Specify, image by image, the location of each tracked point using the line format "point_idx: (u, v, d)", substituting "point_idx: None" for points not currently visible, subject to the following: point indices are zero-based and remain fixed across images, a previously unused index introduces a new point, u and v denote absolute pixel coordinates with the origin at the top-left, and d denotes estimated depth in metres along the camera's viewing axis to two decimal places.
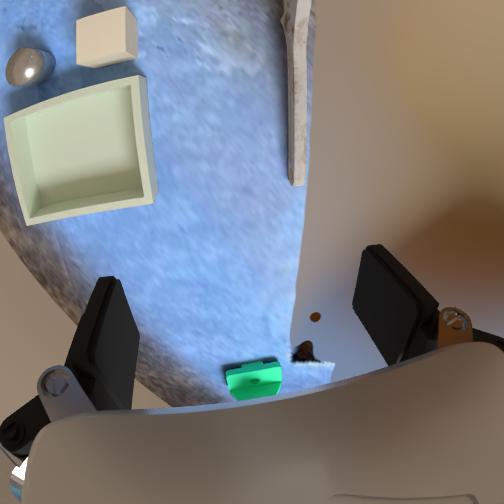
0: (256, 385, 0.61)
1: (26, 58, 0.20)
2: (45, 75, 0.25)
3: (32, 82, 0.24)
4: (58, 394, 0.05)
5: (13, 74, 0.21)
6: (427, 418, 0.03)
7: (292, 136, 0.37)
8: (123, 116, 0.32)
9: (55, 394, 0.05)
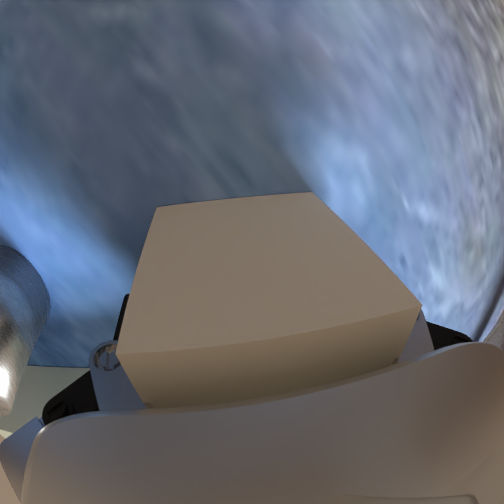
0: None
1: None
2: (36, 340, 0.10)
3: None
4: (110, 369, 0.06)
5: None
6: (427, 418, 0.03)
7: None
8: None
9: (107, 368, 0.06)
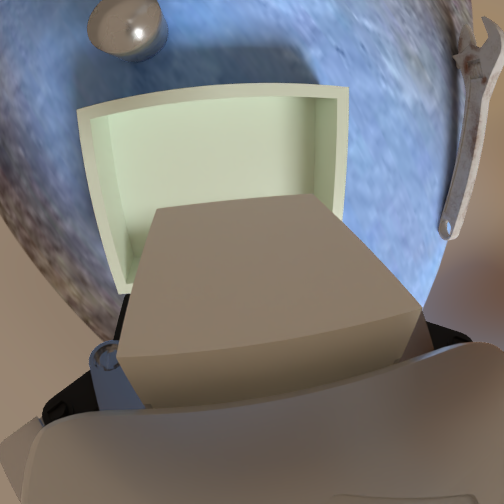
0: None
1: (138, 7, 0.13)
2: (156, 47, 0.18)
3: (137, 53, 0.16)
4: (110, 369, 0.06)
5: (106, 31, 0.13)
6: (427, 418, 0.03)
7: (456, 189, 0.29)
8: (290, 137, 0.24)
9: (107, 368, 0.06)
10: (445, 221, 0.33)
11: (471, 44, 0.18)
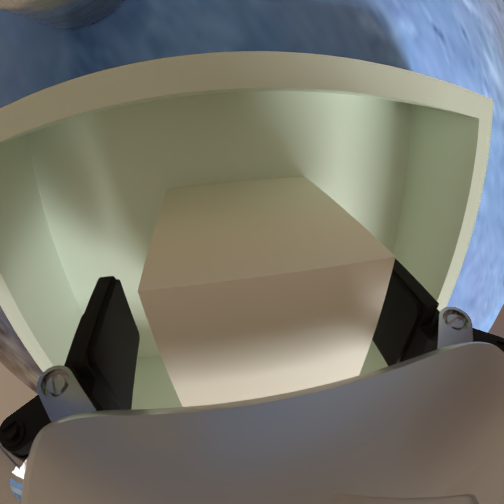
0: None
1: None
2: None
3: (64, 0, 0.05)
4: (58, 394, 0.05)
5: None
6: (427, 418, 0.03)
7: None
8: (369, 174, 0.13)
9: (55, 394, 0.05)
10: None
11: None
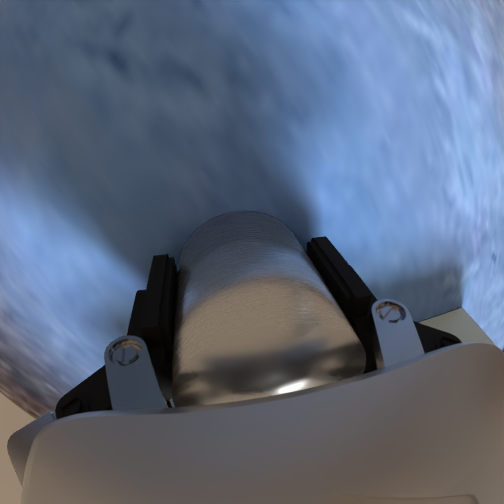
0: None
1: (319, 370, 0.07)
2: None
3: None
4: (125, 364, 0.06)
5: None
6: (427, 418, 0.03)
7: None
8: None
9: (122, 363, 0.06)
10: None
11: None
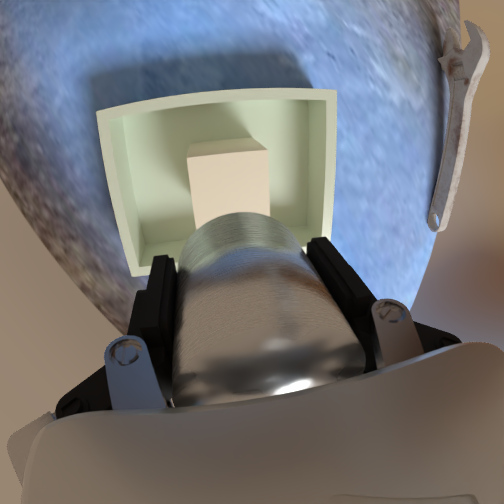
0: None
1: (318, 371, 0.07)
2: None
3: None
4: (125, 364, 0.06)
5: None
6: (427, 418, 0.03)
7: (442, 184, 0.32)
8: (285, 135, 0.27)
9: (122, 363, 0.06)
10: (434, 214, 0.36)
11: (455, 47, 0.21)
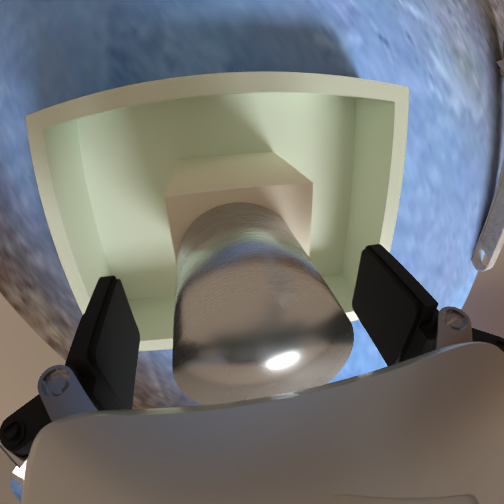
0: None
1: (309, 343, 0.07)
2: None
3: None
4: (59, 394, 0.05)
5: (228, 387, 0.08)
6: (427, 418, 0.03)
7: (496, 216, 0.23)
8: (322, 149, 0.18)
9: (56, 394, 0.05)
10: (480, 249, 0.27)
11: None
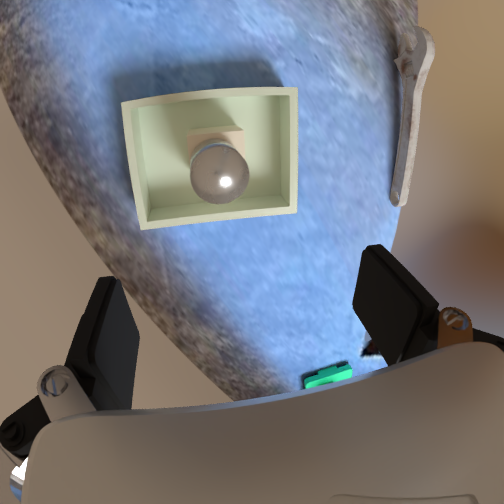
0: None
1: (233, 168, 0.25)
2: None
3: None
4: (58, 394, 0.05)
5: (206, 184, 0.25)
6: (427, 418, 0.03)
7: (400, 165, 0.40)
8: (262, 123, 0.35)
9: (55, 394, 0.05)
10: (395, 192, 0.44)
11: (407, 49, 0.29)
